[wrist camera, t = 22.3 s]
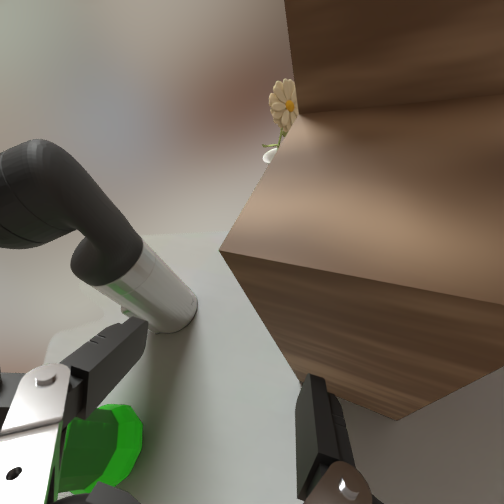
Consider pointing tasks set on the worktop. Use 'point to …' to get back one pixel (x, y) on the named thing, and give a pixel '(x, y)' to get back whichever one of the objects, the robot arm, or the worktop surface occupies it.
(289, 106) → the flower in vase
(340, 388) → the walnut step stand
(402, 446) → the worktop surface
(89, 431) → the plastic bottle
